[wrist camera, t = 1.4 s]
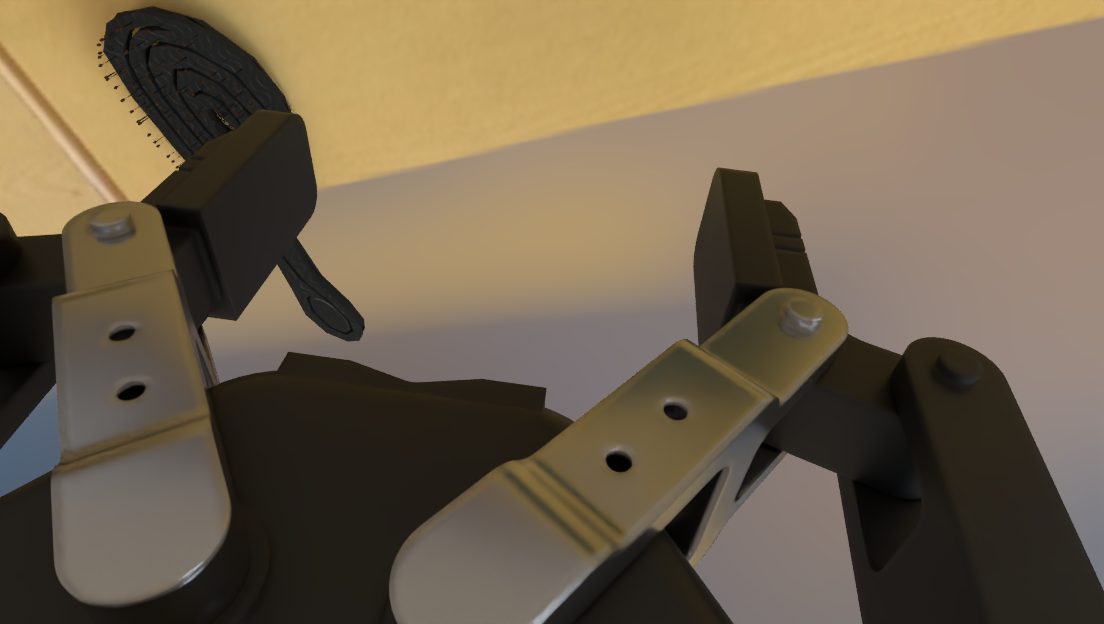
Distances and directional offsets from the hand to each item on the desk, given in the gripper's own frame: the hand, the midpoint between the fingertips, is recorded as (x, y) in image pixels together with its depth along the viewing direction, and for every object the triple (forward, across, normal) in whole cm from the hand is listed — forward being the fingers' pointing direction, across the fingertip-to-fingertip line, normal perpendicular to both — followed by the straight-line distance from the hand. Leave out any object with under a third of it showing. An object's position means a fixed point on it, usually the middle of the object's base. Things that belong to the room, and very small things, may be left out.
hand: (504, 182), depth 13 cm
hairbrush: (+24, +19, +17) cm, 35 cm away
